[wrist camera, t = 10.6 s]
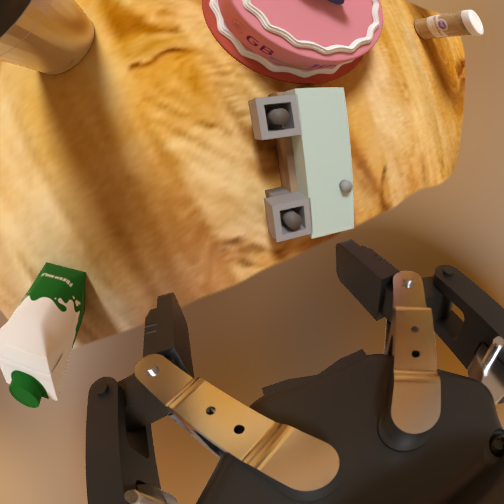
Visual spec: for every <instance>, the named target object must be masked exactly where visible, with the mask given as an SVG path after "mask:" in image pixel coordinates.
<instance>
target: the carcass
mask: <svg viewBox="0 0 504 504" xmlns="http://www.w3.org/2000/svg"><path fill="white" fill-rule="evenodd" d="M284 95H285V92H276V93H273V94H270V95H268V97H273V96H284ZM264 108H265V114H266V120H267V127H268V130H273V129H280V128H284V124H286V123H287V122H288V121H289V113H288V111H287V110H285V109H283V108H281V104H275V105H267V106H264ZM275 141H276V148H277V155H278V162H279V169H280V176H281V184H282V187H279V188H274V189H269V190H265V193H266V198H269V197H274V196H279V195H283V194H288V193H293V192H298V187H297V178H296V169H295V161H294V153H293V146H292V138H291V136H287V137H280V138H275ZM280 219H281V224H283V223H285V224H286V225H287V226H288V227H289V228H291V229H297V228H299V227H300V226H301V224H302V218H301V217H300V216H299V215H298V214H297V213H296V212H295V208H290V209H286V210H281V211H280Z"/></svg>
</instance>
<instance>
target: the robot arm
mask: <svg viewBox="0 0 504 504" xmlns="http://www.w3.org/2000/svg"><path fill="white" fill-rule="evenodd" d="M93 39H94V26H93V23H92V21H91V20H90V19H89V18H88V17H87V16H86V14H85V13H84V12H83V10H82V9H81V8H80V6H79V5H78V4H77V3H76V2H75V1H74V0H0V60H1V61H5V62H8V63H12V64H16V65H19V66H23V67H26V68H30V69H33V70H36V71H40V72H43V73H46V74H52V75H54V74H60V73H63V72H65V71H67V70H69V69H71V68H72V67H74V66H75V65H76V64H77V63H79V62H80V60H81V59H82V58H83V57H84V56H85V55H86V53H87V52H88V50H89V48H90V47H91V45H92V42H93ZM336 269H337V275H338V278H339V280H340V281H341V283H342V284H343V285H344V286H345V287H346V288H347V289H348V290H349V291H350V292H351V293H352V294H353V295H354V297H355V298H356V299H357V300H358V301H359V302H360V303H361V304H362V305H363V306H364V307H365V309H366V310H367V311H368V312H369V313H370V314H371V315H372V316H373V318H374V319H375V320H376V321H377V320H379V319H381V318H383V317H386V319H387V321H386V333H385V347H384V354H372V355H366V354H365V352H364V351H363V350H362V349H361V350H359V351H357V352H355V353H352V354H350V355H348V356H346V357H343V358H341V359H339V360H338V361H337V362H335V363H334V364H333V365H331V366H330V367H328V368H327V369H325V370H324V371H322V372H321V373H320V374H318V375H314V376H307V377H301V378H295V379H288V380H285V381H282V382H279V383H276V384H273V385H270V386H267V387H264V388H262V390H263V393H264V396H262V397H261V398H259V399H258V400H256V401H255V402H254V403H253V404H252V405H250V406H249V407H247V406H245V405H244V404H242V403H240V402H239V401H237V400H235V399H234V398H232V397H230V396H229V395H227V394H226V393H224V392H222V391H220V390H219V389H217V388H216V387H215V386H213V385H211V384H210V383H208V382H207V381H205V380H204V379H202V378H197V379H194V373H193V366H192V358H191V351H190V342H189V334H188V327H187V323H186V320H185V318H184V315H183V313H182V310H181V308H180V306H179V304H178V301H177V299H176V297H175V294H174V293H173V292H172V293H169V294H165V295H162V296H158V298H157V308H155V309H152V310H150V311H149V313H148V315H147V317H146V320H145V335H144V349H143V358H142V359H141V360H140V361H139V362H138V363H137V365H136V367H135V371H134V372H135V373H134V374H132V375H131V376H129V377H127V378H125V379H123V380H121V381H119V382H117V381H116V380H115V379H113V378H111V377H103V378H100V379H98V380H97V381H95V383H93V384H92V386H91V388H90V390H89V395H88V407H87V422H86V423H87V424H86V482H87V497H88V504H179V502H178V501H177V499H176V498H175V497H174V496H173V495H171V494H170V493H168V492H165V491H163V490H161V487H160V483H159V477H158V471H157V465H156V460H155V453H154V446H153V439H152V431H151V423H153V422H155V421H157V420H159V419H161V418H163V417H165V416H167V415H168V416H169V417H171V418H172V419H173V420H174V421H175V422H176V423H178V424H179V425H180V426H181V427H182V428H183V429H185V430H186V431H187V432H188V433H189V434H191V435H192V436H193V437H194V438H196V439H197V440H198V441H199V442H200V443H201V444H203V445H204V446H205V447H206V448H208V449H209V450H210V451H211V452H213V453H214V454H215V455H217V456H218V457H219V458H220V460H219V462H218V464H217V466H216V468H215V470H214V472H213V474H212V476H211V477H210V479H209V481H208V483H207V485H206V487H205V488H204V490H203V492H202V494H201V496H200V498H199V499H198V501H197V503H196V504H504V430H503V428H502V426H501V424H500V421H499V419H498V415H497V412H496V407H495V405H496V404H497V403H498V404H499V403H503V402H504V309H503V308H502V307H501V306H500V305H499V304H498V303H497V302H496V301H495V300H493V299H492V298H491V297H490V296H489V295H488V294H487V293H485V292H484V291H483V290H482V289H481V288H480V287H478V286H477V285H476V284H475V283H474V282H472V281H471V280H470V279H469V278H468V277H466V276H465V275H464V274H463V273H461V272H460V271H459V270H458V269H456V268H455V267H453V266H450V265H440V266H438V267H437V268H436V269H435V273H434V276H432V277H426V278H421V277H420V276H419V275H418V274H416V273H414V272H411V271H402V272H400V271H399V270H397V269H396V268H395V267H394V266H392V265H391V264H390V263H389V262H387V261H386V260H385V259H383V258H382V257H381V256H380V255H378V254H377V253H376V252H374V251H373V250H372V249H370V248H367V247H364V246H359V245H358V244H357V243H355V242H354V241H353V240H351V239H350V240H347V241H344V242H341V243H338V244H337V245H336ZM453 303H454V304H455V305H456V306H457V307H458V308H459V309H460V310H461V311H462V312H463V314H464V318H465V320H464V322H463V321H462V320H461V319H460V318H459V317H458V316H457V315H456V314H455V313H454V312H453V311H452V310H451V309H452V306H453ZM434 331H435V332H436V334H437V335H438V336H439V337H440V338H441V339H442V340H443V342H444V343H445V344H446V345H447V346H448V347H449V348H450V349H451V351H452V352H453V353H454V354H455V355H456V357H457V358H458V359H459V360H460V361H461V363H462V364H463V365H464V366H465V368H466V369H467V370H468V376H469V377H465V376H461V375H458V374H454V373H450V372H446V371H443V370H439V369H437V361H436V347H435V336H434Z"/></svg>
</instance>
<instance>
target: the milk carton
mask: <svg viewBox="0 0 504 504" xmlns="http://www.w3.org/2000/svg"><path fill="white" fill-rule="evenodd" d="M84 310H85V272H82V271H78V270H74V269H70V268H66V267H62V266H58V265H54V264H51V263H47V262H46V264H45V265H44V267H43V268H42V270H41V272H40V273H39V275H38V276H37V278H36V280H35V281H34V283H33V285H32V286H31V288H30V289H29V290H28V292H27V293H26V295H25V296H24V298H23V299H22V301H21V302H20V304H19V305H18V307H17V308H16V310H15V311H14V313H13V314H12V316H11V318H10V319H9V321H8V322H7V323H6V324H5V325H4V326H3V327H2V328H0V367H1V370H2V372H3V374H4V377H5V379H6V381H7V383H9V384H10V386H9V391H10V393H11V394H12V396H13V397H14V398H15V399H16V400H18V401H19V402H20V403H22V404H24V405H26V406H28V407H32V408H36V407H38V406H39V403H40V400H41V397H45V398H47V399H49V398H51V399H53V400H56V401H58V397H59V393H60V389H61V384H62V381H63V376H64V373H65V369H66V366H67V363H68V360H69V356H70V354H71V351H72V348H73V345H74V342H75V339H76V336H77V333H78V330H79V328H80V325H81V322H82V318H83V314H84Z"/></svg>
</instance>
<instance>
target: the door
mask: <svg viewBox="0 0 504 504" xmlns="http://www.w3.org/2000/svg"><path fill="white" fill-rule="evenodd" d="M248 103H249V108H250V114H251V120H252V126H253V132H254V138H255V139H257V140H267V139H274V138H280V137H287V136H291V138H292V146H293V153H294V161H295V169H296V178H297V187H298V192H293V193H288V194H283V195H279V196H274V197H269V198H265V199H264V202H265V209H266V215H267V222H268V229H269V233H270V235H271V236H272V237H273V238H274V240H275V241H276V242H281V241H285V240H289V239H293V238H297V237H301V236H305V235H308V236H309V237H310V238H311V239H313V238H317V237H321V236H325V235H329V234H333V233H337V232H340V231H344V230H348V229H352V228H354V204H353V178H352V161H351V148H350V136H349V126H348V117H347V109H346V101H345V94H344V87H319V88H296V89H292V90H288V91H285V95H284V96H273V97H264V98H255V99H253V100H250V101H248ZM275 104H281V108H283V109H285V110H287V111H288V113H289V121H288V122H287V123H286V124H284V128H280V129H273V130H268V127H267V120H266V114H265V108H264V106H267V105H275ZM290 208H295V212H296V213H297V214H298V215H299V216H300V217H301V218H302V224H301V226H300V227H299V228H297V229H291V228H289V227H288V226H287V225H286V224H285V223H283V224H281V219H280V211H281V210H286V209H290Z"/></svg>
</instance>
